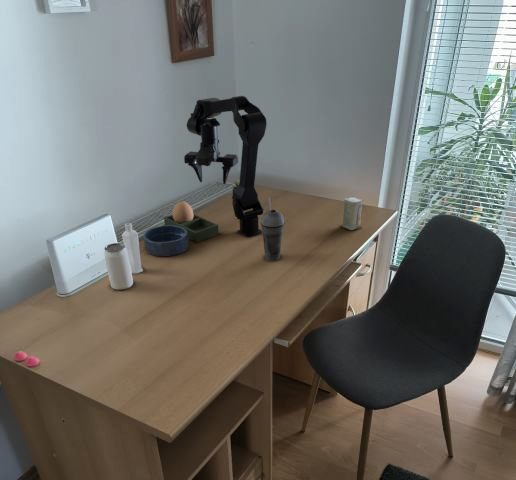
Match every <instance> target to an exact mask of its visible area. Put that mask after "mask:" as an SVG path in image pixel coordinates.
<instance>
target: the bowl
mask: <svg viewBox="0 0 516 480" xmlns="http://www.w3.org/2000/svg"><path fill="white" fill-rule="evenodd" d="M142 237H143V243H144V244H143V245H144V249H145V251H146V253H148V254H149V255H152V256H155V257H156V256H157V257H171V256H175V255H179V254H182V253H184V252H185V251H187V250H188V248H189V238H188V235H187V231H186V229H184V228H182V227H179V226H173V225H165V224H164V225H159V226H155V227H152V228H150V229H147V230H146V231H145V232H144V233H143V236H142Z"/></svg>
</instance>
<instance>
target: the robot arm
mask: <svg viewBox="0 0 516 480" xmlns="http://www.w3.org/2000/svg"><path fill="white" fill-rule="evenodd" d="M240 111H243V112H244V113H246V114H242V115H241V113H240ZM226 112H227V113H228V112H231V113H232V117H233V122H234V124H235V125H236V127H237V128H238V135H239V138H240V139H241V141H242V146H241V147H242V148H241V159H240V160H241V161H240V172H239V184H238V186H235V187H234V186H233V188H232V195H231V200H232V208H233V212H234V216H235V217H236V220H239V229H238V230H236V232H237V234H240V235H241V236H245V237H247V238H251V237H253V236H256V235H258V234H261V233H263V231H262V229H259V226H260V225H259V224H260V223H259V216H263V215H264V208H263V206H262V204H261V201H260V200H259V193H258V191H257V189H256V187H255V183H256V181H255V180H256V173H257V164H258V163H257V162H258V154H259V153H258V152H259V145H260V143H261V141H262V140H263V138H264V137H265V134H266V130H267V123H268V122H267V118H266V116H265V115H264V113H263V112H262V110H261V109H260V108H259V107H258V106H256V105H255V104H253V103H252V102H250V100H249V99H248V98H247V97H246V96H244V95H237V96H232V97H231V98H224V99H219V98H217V97H209V98H204V99H203V98H201V99H197V100H196V103H195V105H194V108H193V112H191V113H190V117H189V118H188V119H187V121H186V128H187V130H188V132H189V133H191V134H194V135H197V136H200V139H201V142H200V143H199V150H198V151H189V152H187V153H186V154H185V155H184V158H183V161H184V164H187V165H188V166H189V167H191V168H192V169H193V170H194V172H195V175H196V176H197V179H198V181H199V182H200V183H203V166H205V167H210V166H211V164H212V163H221V164H222V166H221V169H222V184H223V185H225V184H226V183H227V181H228V177H229V174H230V171H231V169H232V168H233V167H235V166H236V165H237V164H238V163H239V157H238V156H237V154H233V153H231V154H230V153H227V154H225V155H224V156H221V152H220V150H219V144H220V139H219V136H218V127H219V126H221V123H220V121H218V120H217V118H216V117H218V116H220V115H221V114H222V113H226Z"/></svg>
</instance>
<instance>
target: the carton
mask: <svg viewBox="0 0 516 480" xmlns="http://www.w3.org/2000/svg"><path fill="white" fill-rule="evenodd" d="M163 222H164V226H165V225H173V226H179V227H182V228H184V229H186V231H187V235H188V240H191V241H193V242H195V243H200V242H202V241H204V240H208V239H210V238H212V237H215V236H218V235H220V230H219V224H217V223H215V222H213V221H211V220H208V219H206V218H204V217H202V216H200V215H198V214H195V213H193V220H191V221H188V222H186V223H183V224H178V223H176V222H175V221H174V219H173V214H171V215H168V216H165V217H163Z"/></svg>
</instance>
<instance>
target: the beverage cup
mask: <svg viewBox="0 0 516 480" xmlns="http://www.w3.org/2000/svg"><path fill="white" fill-rule="evenodd" d="M267 202H268V210H266V212H264V213H263V214H262V217H261V221H260V226H261V231H262V238H263V239H262V240H263V247H264V256H265V259H266V260H267V261H269V262H276V261H278V260H280V258H281V257H280V256H281V251H282V241H283V231H284V227H285V219H284V216H283V214H282V213H281V212H280V211H278V209H277V210H276V209H272V207H271V198H270V195H267Z"/></svg>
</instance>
